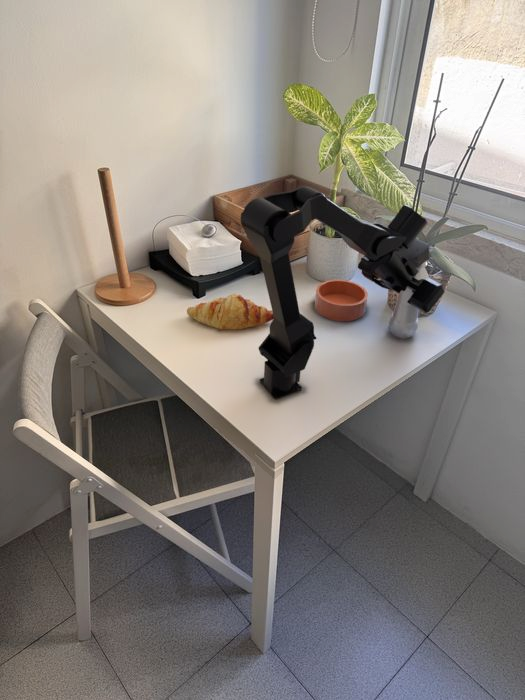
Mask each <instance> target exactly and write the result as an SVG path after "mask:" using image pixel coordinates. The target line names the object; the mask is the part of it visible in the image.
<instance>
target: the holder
mask: <svg viewBox="0 0 525 700" xmlns="http://www.w3.org/2000/svg"><path fill="white" fill-rule="evenodd" d="M368 297H369V294H368V291H367V290H366V288H365V287H363V286H362V285H361V284H359V283H356V282H354V281H351V280H345V279H329V280H326V281H325V280H324V281H323V282H321V283H319V284H318V285H317V286H316V289H315V296H314V309H315V311H316V312H317V313H318V314H319V315H320V316H322V317H323V318H326V319H328V320H331V321H334V322H335V321H337V322H352V321H355V320H358V319H360V318H362V317H363V316H364V314H365V312H366V307H367V302H368Z"/></svg>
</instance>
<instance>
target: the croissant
mask: <svg viewBox="0 0 525 700" xmlns="http://www.w3.org/2000/svg"><path fill="white" fill-rule="evenodd" d="M186 314H187V316H189V317H190V318H192V319H194V320H196V321H197V322H199V323H200V324H204V325H206V326H208V327H212V328H216V329H219V330H242V329H246V328H250V327H251V328H252V327H257V326H261V325H265V324H267V323H269V322H272V321H273V319H274V315H273V311H272V310H270V309H269V310H268V309H267V308H266V307H265V306H263V305H257V304H256V303H254V302H253V301H251V299H246V298H244V296H242V295H241V294H238V293H232V294H230V295H227V297H219V298H215V299H212V300H210V301H207V302H201V303H198V304H196V305H194V306H189V307H188V308H187V309H186Z"/></svg>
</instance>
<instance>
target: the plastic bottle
mask: <svg viewBox="0 0 525 700" xmlns="http://www.w3.org/2000/svg"><path fill="white" fill-rule="evenodd" d="M427 265H428V260H426V261H425V262H424V263H423V264H422V265H420V266H419V267H418V268H417V270H418V271H419V272H418V273H417V274H416V276H412V277H414V278H416V279H417V280H420V279H427V278H430V276H429V273H428V271H427V269H426V267H427ZM414 284H415V283H414ZM415 285H416V284H415ZM412 294H413V293H412V290H411V289H410V288H408V287H407V289H406V290H405V291H402V290H401V292H400V293H399V294H398V293H397V297H396V300H395V301H396V302H395V305H394V308H393V312H392V314H391V315H390V318H389V322H388V330H389V331H390V333H391V334H392V335H393V336H394V337H396V338H399V339H409V338H411V337H413V336H414V335H415V334H416V331H417V329H418V325H419V313H420V310H419V309H418V308H416V307H414V306H413V305H411V304H409V303H408V302H407V301H408V300H409V299H410V297H411V296H412Z"/></svg>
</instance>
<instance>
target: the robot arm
mask: <svg viewBox="0 0 525 700" xmlns="http://www.w3.org/2000/svg"><path fill="white" fill-rule="evenodd" d="M314 220H316V221H318V222H320V223H321V224H323V225H325V227H327V228H329V229H330V230H333V231H334V232H336V233H338V234H339V236H341V239H342V241H343V242H344V243H345V244H346V245H347V246H348V247H349V248H350V249H352V250H354V251H356V252H358V253H359V254H361V255H363V257H361V258H360V261H359V262H358V264H357V269H359V270H360V271H361V275H362V276H363V277H364V278H366V279H367V280H369V281H370V282H372V283H374V284H375V285H377V286H379V287H380V288H382V289H386V290H389V291H393V292H395V293H397V295H398V294H399V293H400V292H401V290H402V291H405V290H406V289H407V287H408V288H410V289H411V290H412V293H413V294H412V296H411V297H410V299H409V300H408V301H407V302H408V303H409V304H411V305H413V306H414V307H416V308H418V309H419V311H421V312H423V313H425V314H427V313H429V312H430V311H431V310H432V309H433V307H434V306H435V305H436V304H437V302H438V301H439V300H440V299H441V298H442V296H443V295H444V294H445V292H446V290H445V288H444V285H442V283H440V282H438V281H436V280H434V279H432V278H430V277H429V278H427V279H420V280H417V279H416V278H414V277H412V276H416V274H417V273H418V272H419V271H418V270H417V268H418V267H419V266H420V265H422V264H423V263H424V262H425V261H426V260H427V261H429V260H430V258H431V253H430V245H429V244H428V243H427V242H424V241H422V240H420V239H419V238H418V237H419V235H420V234H421V233H422V232H423V230H424V229H425V228H426V226H427V225H428V220H427V219H426V218H425V217H423V216H422V215H421V214H420V213H418V212H417V211H415V210H414V209H413V207H411V206H410V205H407V204H403V205H402V206H401V207H400V209H399V210H398V212H397V213H396V215H394V217H393V219H392V220H391V221H390V222H389V224H388V225H387V226H385V225H383V224H381V223H379V222H377V221H376V222H369V221H367V220H365V219H362V218H359V217H356V216H353V214H351V213H349V212H348V211H346V210H345V209H343V208H342V207H341V206H339V205H337V204H336V203H334V202H333V201H332V200H330V199H329V198H327V197H326V195H325V194H324V193H322V192H321V191H319V190H317V189H314V188H312V187H310V186H307V185H303V186H299V187H296V188H294V189H292V190H288V191H283V192H282V191H281V192H276V193H270V194H268V195H265V196H263V197H257V198H254V199H252V200H250V201H249V202H248V203H247V204H246V206H245V207H244V209H243V211H242V212H241V213H240V224H241V227H242V229H243V231H244V233H245V236H246V237H247V240H248V241H249V242H250V244H251V246H252V247H253V248H254V250H255V251H256V252H257V254H258V256H259V259H260V264H261V268H262V272H263V276H264V280H265V285H266V289H267V294H268V299H269V302H270V307H271V311H273V315H274V319H273V320H271V321H270V324H269V333H268V335H267V336H266V337H265V339H264V340H263V341H262V342H261V344H260V345H259V346H258V347H257V348H258V351H259V354H260V355H261V356H262V357H264V359H266V360H265V361H264V369H263V371H264V372H263V377H262V378H259V384H261V386H262V387H263V388H264V389H265V390H266V392H267V393H268V394H269V395H270V396H271V398H272V399H274V400H280V399H282V398H286V397H287V396H290V395H293V394H296V393H298V392H301V391H302V390H303V387H302V386H301V384H300V381H301V380H300V379H301V372H302V371H304V370H305V369H306V367H307V364H308V362H309V360H310V357H311V355H312V352H313V350H314V348H315V340H317V336H316V335H315V326H314V323H313V322H312V321H311V320H310V319H309V318H307V317H306V316H305V315H303V314H302V313H301V311H300V307H299V302H298V297H297V296H298V295H297V292H296V285H295V281H294V275H293V274H294V273H293V269H292V264H291V258H290V252H291V249H292V247H293V245H294V243H295V237H297V236H299V235H300V234H302V233H304V232H305V231H306V229H307V228H308V226H309V225H310V224H311V222H313V221H314ZM414 283H415V284H416V285H415V284H414Z"/></svg>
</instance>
